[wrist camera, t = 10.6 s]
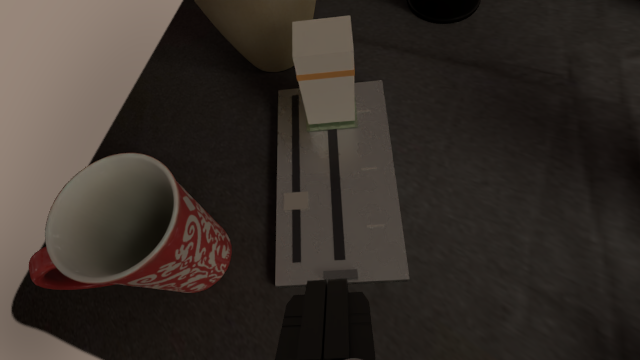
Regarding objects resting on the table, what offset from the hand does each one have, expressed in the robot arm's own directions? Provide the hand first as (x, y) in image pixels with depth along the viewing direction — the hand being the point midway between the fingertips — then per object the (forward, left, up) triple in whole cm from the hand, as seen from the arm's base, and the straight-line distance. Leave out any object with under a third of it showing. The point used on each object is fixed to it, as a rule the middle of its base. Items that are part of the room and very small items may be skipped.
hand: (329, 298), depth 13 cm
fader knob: (0, -21, -18) cm, 28 cm away
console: (0, -14, -20) cm, 24 cm away
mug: (+16, -6, -20) cm, 26 cm away
